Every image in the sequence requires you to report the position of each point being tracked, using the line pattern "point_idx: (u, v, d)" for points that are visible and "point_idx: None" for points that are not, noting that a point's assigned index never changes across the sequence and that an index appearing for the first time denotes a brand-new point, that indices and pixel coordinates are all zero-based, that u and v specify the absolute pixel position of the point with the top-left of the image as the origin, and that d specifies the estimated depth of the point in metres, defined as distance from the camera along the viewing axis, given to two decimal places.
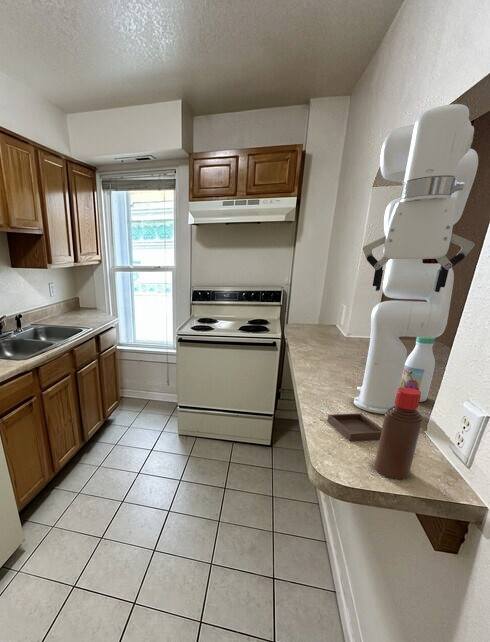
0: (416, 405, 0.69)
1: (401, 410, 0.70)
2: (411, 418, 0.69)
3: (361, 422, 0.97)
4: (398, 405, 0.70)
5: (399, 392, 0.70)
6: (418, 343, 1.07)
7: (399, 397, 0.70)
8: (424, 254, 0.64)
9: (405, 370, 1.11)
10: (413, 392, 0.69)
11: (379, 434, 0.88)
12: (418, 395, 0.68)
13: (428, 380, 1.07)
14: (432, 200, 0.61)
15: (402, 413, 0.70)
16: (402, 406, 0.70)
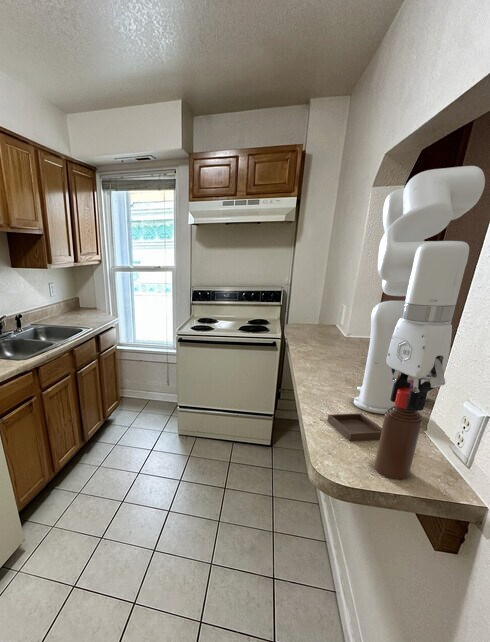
0: None
1: (401, 410, 0.70)
2: (411, 418, 0.69)
3: (361, 422, 0.97)
4: (398, 405, 0.70)
5: (399, 392, 0.70)
6: None
7: (399, 397, 0.70)
8: None
9: None
10: None
11: (379, 434, 0.88)
12: None
13: None
14: None
15: (402, 413, 0.70)
16: (402, 406, 0.70)
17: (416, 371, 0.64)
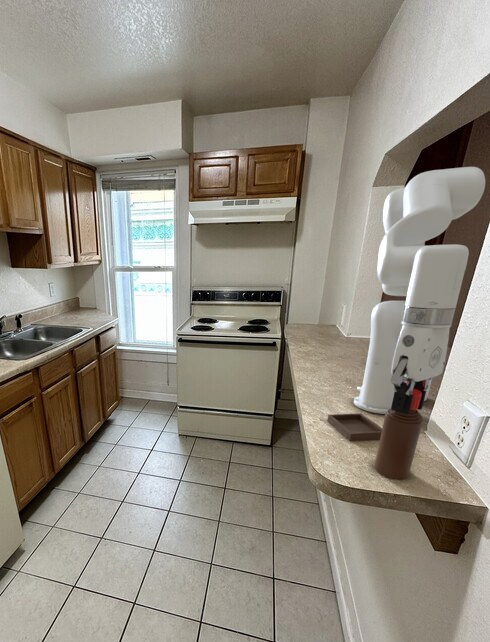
0: None
1: None
2: (411, 419, 0.69)
3: (361, 422, 0.97)
4: None
5: (419, 395, 0.68)
6: None
7: (419, 400, 0.68)
8: None
9: None
10: None
11: (379, 434, 0.88)
12: None
13: None
14: None
15: (402, 414, 0.69)
16: None
17: (441, 368, 0.67)
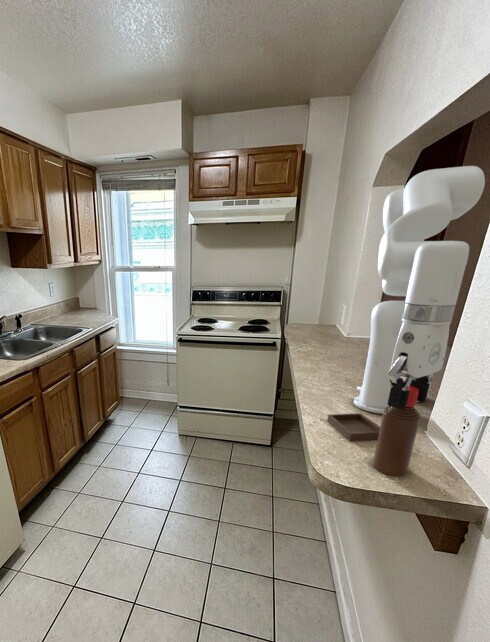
0: None
1: None
2: (409, 416, 0.70)
3: (361, 422, 0.97)
4: (415, 404, 0.70)
5: (417, 392, 0.69)
6: None
7: (416, 396, 0.70)
8: None
9: None
10: (409, 387, 0.71)
11: None
12: None
13: None
14: None
15: (400, 411, 0.71)
16: None
17: (441, 364, 0.67)
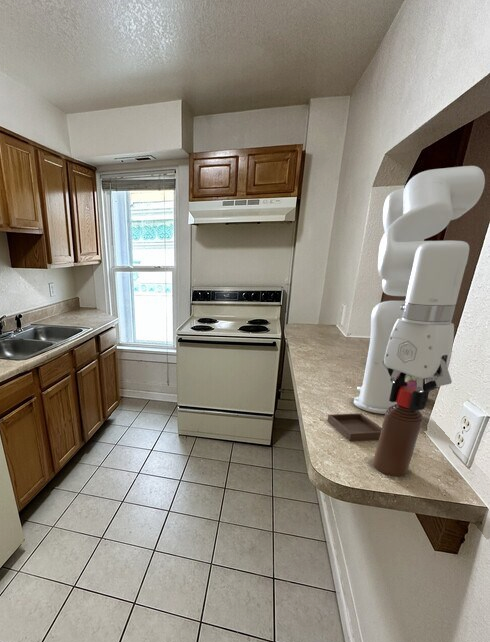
0: None
1: (402, 409, 0.70)
2: (412, 417, 0.69)
3: (361, 422, 0.97)
4: None
5: None
6: None
7: None
8: None
9: None
10: (412, 387, 0.70)
11: (379, 434, 0.88)
12: None
13: None
14: None
15: (403, 412, 0.70)
16: None
17: (422, 371, 0.64)
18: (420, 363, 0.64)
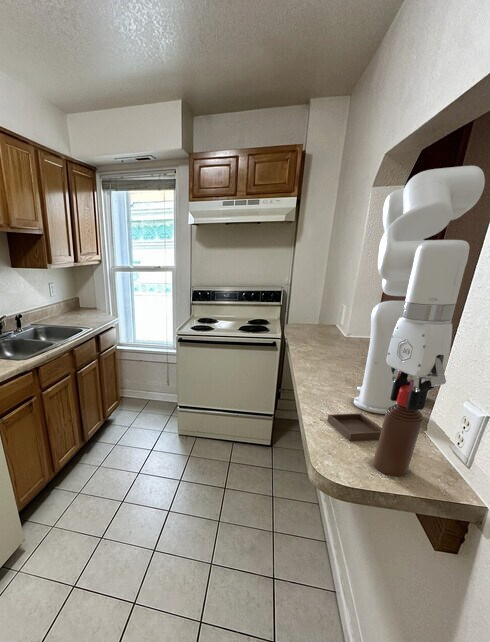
0: (397, 398, 0.71)
1: (402, 409, 0.70)
2: (412, 418, 0.69)
3: (361, 422, 0.97)
4: None
5: None
6: None
7: None
8: None
9: None
10: (406, 388, 0.70)
11: (379, 434, 0.88)
12: (400, 389, 0.70)
13: None
14: None
15: (403, 412, 0.70)
16: None
17: (416, 370, 0.64)
18: (415, 362, 0.64)
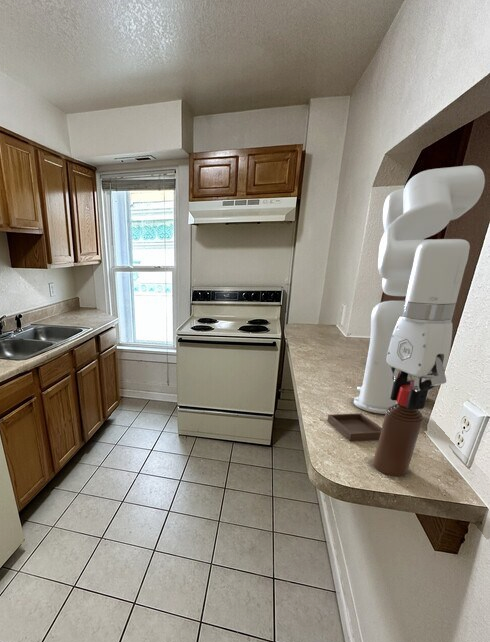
0: None
1: (402, 409, 0.70)
2: (412, 418, 0.69)
3: (361, 422, 0.97)
4: (398, 402, 0.71)
5: (400, 389, 0.70)
6: None
7: (400, 394, 0.70)
8: None
9: None
10: None
11: (379, 434, 0.88)
12: None
13: None
14: None
15: (403, 412, 0.70)
16: (402, 403, 0.70)
17: (417, 369, 0.64)
18: (415, 361, 0.64)
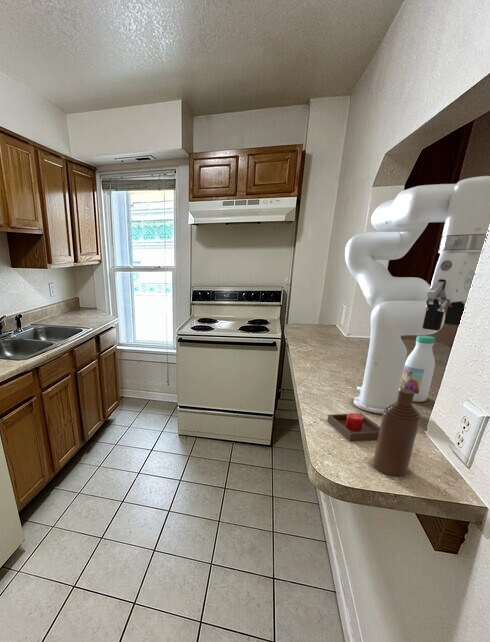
0: None
1: (399, 408, 0.71)
2: (409, 416, 0.70)
3: None
4: (360, 428, 0.93)
5: (360, 420, 0.92)
6: (418, 343, 1.07)
7: (361, 423, 0.92)
8: None
9: (405, 370, 1.11)
10: (357, 415, 0.94)
11: None
12: None
13: (428, 380, 1.07)
14: None
15: (400, 411, 0.71)
16: (361, 427, 0.93)
17: None
18: None
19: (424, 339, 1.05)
